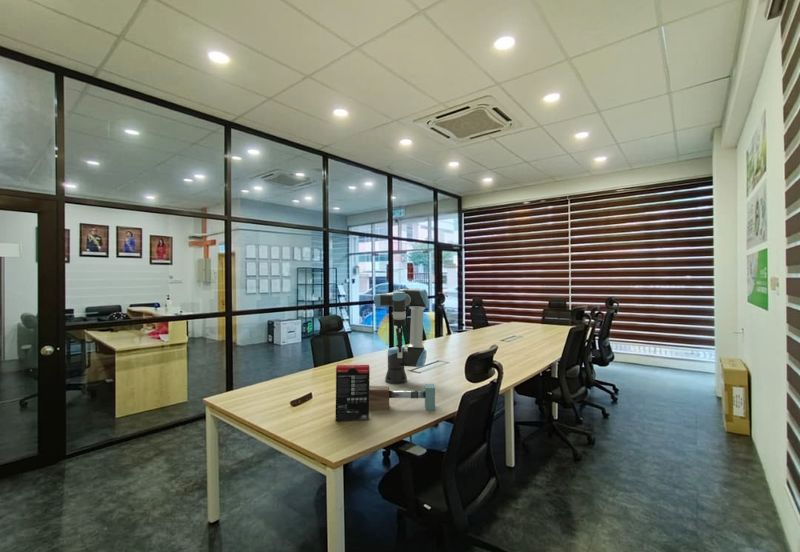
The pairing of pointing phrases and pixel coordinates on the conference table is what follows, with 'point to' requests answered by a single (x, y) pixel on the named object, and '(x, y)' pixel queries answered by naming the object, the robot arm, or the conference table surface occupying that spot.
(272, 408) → the conference table surface
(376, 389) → the brown wooden block
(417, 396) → the tube
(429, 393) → the teal rectangular block
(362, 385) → the graphics card box
